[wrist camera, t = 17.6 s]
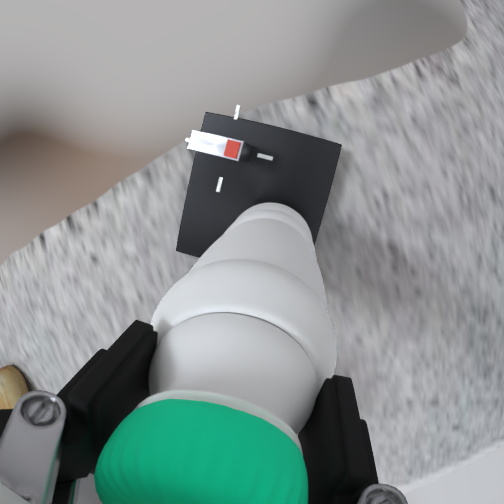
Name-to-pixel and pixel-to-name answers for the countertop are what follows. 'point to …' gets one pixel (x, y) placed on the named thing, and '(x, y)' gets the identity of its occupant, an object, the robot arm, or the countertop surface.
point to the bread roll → (11, 387)
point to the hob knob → (219, 146)
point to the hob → (255, 179)
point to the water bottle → (230, 374)
